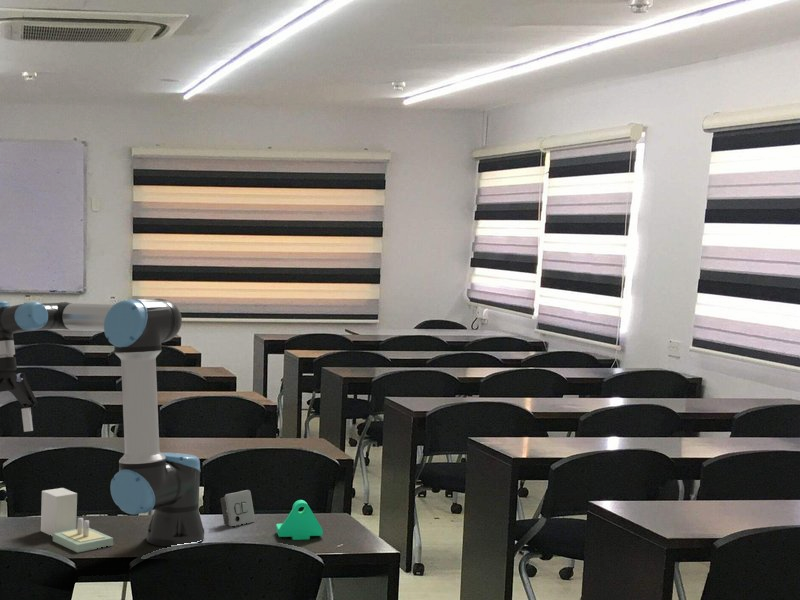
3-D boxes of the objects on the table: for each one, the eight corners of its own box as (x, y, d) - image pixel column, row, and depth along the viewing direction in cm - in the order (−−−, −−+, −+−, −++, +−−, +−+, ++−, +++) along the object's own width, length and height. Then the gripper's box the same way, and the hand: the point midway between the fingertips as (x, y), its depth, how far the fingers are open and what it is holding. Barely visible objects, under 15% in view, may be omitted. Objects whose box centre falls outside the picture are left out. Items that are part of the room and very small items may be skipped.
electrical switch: (231, 528, 281) (230, 495, 281) (218, 526, 284) (217, 493, 285) (255, 522, 288) (254, 490, 289) (243, 520, 292) (242, 488, 292)
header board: (52, 541, 262) (53, 517, 262) (87, 534, 269) (88, 511, 269) (77, 552, 253) (78, 528, 253) (112, 545, 260) (113, 522, 260)
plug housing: (40, 531, 271) (41, 490, 270) (61, 527, 275) (62, 487, 274) (55, 537, 265) (56, 496, 265) (76, 533, 269) (77, 493, 269)
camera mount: (317, 531, 282) (319, 495, 282) (322, 539, 275) (324, 502, 274) (275, 532, 279) (276, 496, 279) (279, 540, 272) (280, 503, 271)
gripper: (25, 356, 288) (33, 430, 287) (-47, 361, 266) (-38, 441, 264) (44, 353, 285) (53, 427, 284) (-27, 358, 263) (-18, 439, 261)
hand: (9, 434), depth 274 cm, fingers open, 13 cm apart
